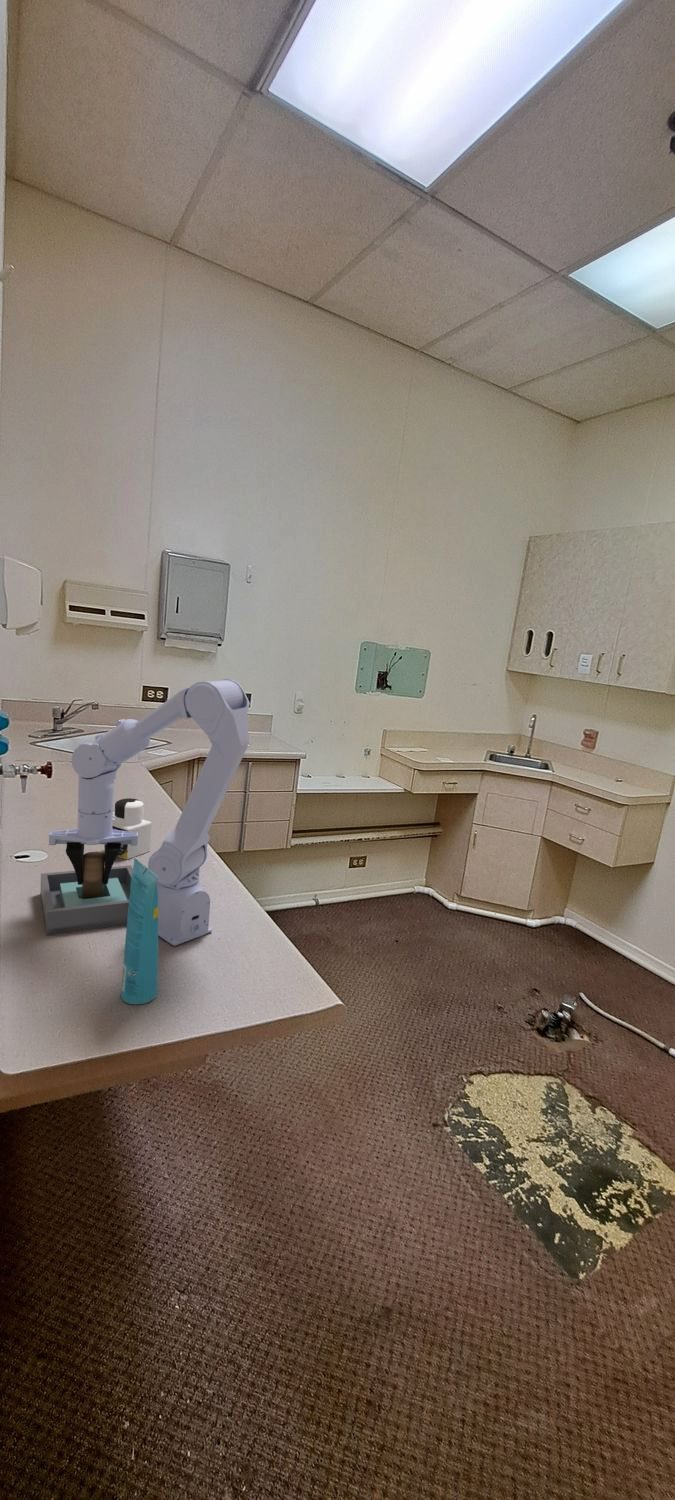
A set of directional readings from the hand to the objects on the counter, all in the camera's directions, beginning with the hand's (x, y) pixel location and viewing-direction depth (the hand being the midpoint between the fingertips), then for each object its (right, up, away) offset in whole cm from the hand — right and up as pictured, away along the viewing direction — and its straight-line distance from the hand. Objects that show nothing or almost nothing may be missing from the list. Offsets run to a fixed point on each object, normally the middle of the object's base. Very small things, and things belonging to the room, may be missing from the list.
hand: (93, 882), depth 107 cm
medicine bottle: (-4, +1, +28) cm, 28 cm away
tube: (+16, -11, -22) cm, 30 cm away
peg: (0, -3, 0) cm, 3 cm away
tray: (-1, -5, +1) cm, 5 cm away
